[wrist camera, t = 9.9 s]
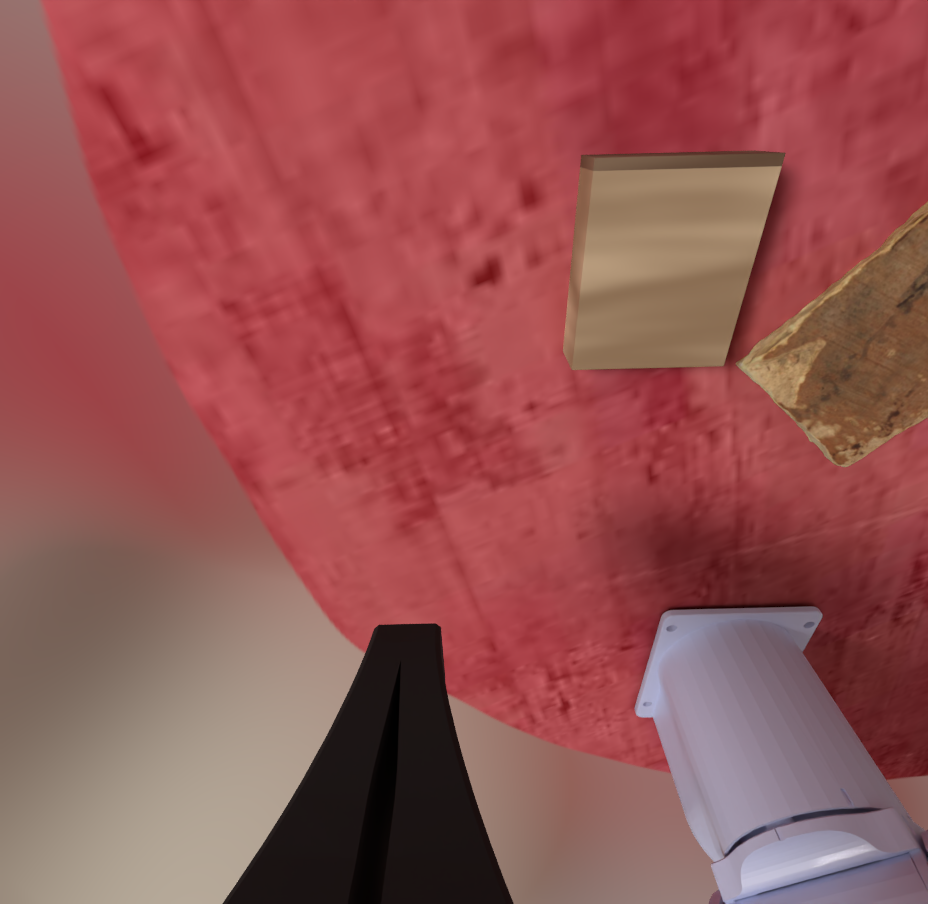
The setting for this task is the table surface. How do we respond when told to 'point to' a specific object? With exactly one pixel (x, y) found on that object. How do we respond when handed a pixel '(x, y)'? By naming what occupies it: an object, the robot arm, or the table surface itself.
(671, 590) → the table surface
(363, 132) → the table surface
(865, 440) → the shard
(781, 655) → the robot arm
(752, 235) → the oak slab
